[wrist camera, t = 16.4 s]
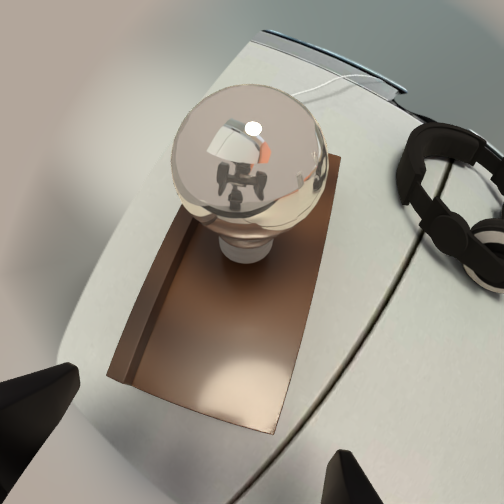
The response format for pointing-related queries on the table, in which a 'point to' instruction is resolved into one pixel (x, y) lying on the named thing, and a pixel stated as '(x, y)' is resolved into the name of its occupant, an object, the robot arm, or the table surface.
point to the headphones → (438, 214)
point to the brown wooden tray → (224, 319)
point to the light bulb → (249, 166)
